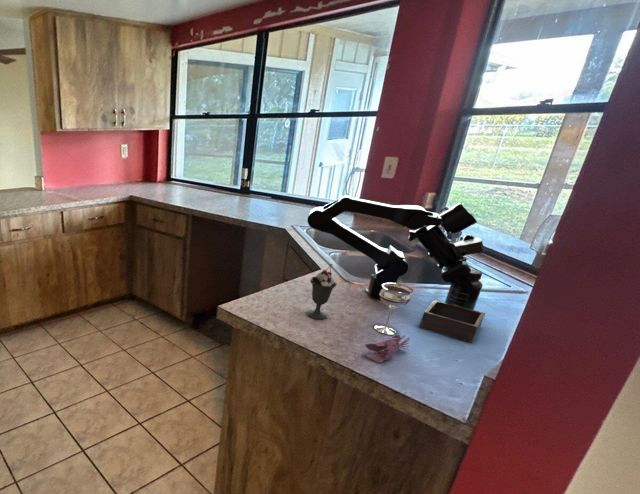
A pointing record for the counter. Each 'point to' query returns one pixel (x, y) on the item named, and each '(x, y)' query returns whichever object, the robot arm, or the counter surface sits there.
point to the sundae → (321, 292)
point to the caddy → (452, 320)
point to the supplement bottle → (465, 292)
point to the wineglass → (393, 302)
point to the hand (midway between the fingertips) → (472, 288)
